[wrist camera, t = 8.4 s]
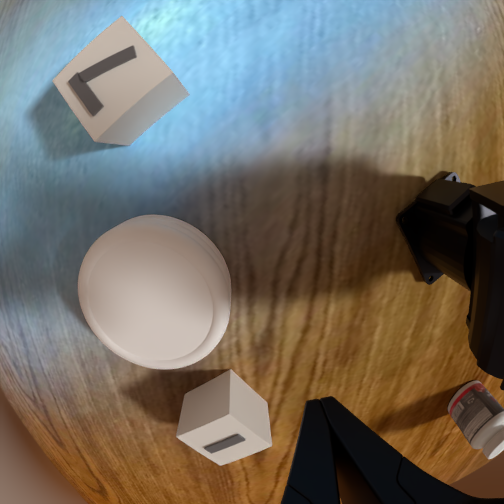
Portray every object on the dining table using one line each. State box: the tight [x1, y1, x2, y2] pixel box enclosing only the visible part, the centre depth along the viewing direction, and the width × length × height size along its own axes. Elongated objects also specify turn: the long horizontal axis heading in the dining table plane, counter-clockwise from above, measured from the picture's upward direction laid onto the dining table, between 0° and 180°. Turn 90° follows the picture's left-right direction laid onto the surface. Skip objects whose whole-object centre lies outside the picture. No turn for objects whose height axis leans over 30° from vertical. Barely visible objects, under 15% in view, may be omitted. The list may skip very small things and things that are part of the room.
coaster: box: [78, 214, 231, 369], centre depth 18 cm, size 10×10×4 cm
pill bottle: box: [448, 381, 504, 459], centre depth 21 cm, size 5×5×10 cm
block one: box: [176, 369, 272, 466], centre depth 20 cm, size 5×5×5 cm
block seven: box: [53, 16, 190, 146], centre depth 13 cm, size 5×5×5 cm
